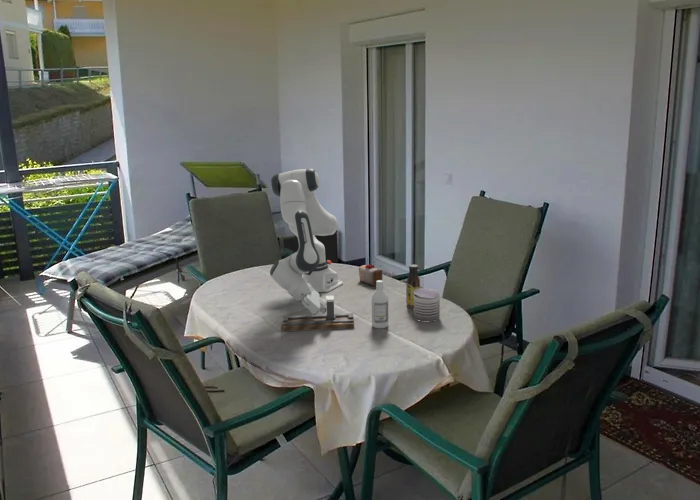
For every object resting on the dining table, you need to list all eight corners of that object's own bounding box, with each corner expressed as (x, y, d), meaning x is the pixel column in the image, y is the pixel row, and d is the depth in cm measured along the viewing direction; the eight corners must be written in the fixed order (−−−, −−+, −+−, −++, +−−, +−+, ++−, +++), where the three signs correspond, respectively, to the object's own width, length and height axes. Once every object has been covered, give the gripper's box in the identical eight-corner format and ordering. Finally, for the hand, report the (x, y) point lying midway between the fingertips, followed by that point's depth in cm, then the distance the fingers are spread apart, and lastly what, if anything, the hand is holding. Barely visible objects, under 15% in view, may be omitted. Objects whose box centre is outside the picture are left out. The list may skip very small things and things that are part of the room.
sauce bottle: (405, 304, 297) (405, 263, 292) (418, 303, 298) (418, 262, 293) (407, 309, 291) (407, 267, 286) (421, 308, 292) (421, 266, 286)
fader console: (283, 331, 269) (282, 323, 268) (284, 321, 281) (283, 313, 280) (354, 328, 271) (354, 320, 270) (352, 317, 282) (352, 310, 281)
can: (424, 311, 288) (424, 286, 285) (444, 317, 280) (445, 291, 277) (408, 318, 280) (408, 292, 277) (428, 324, 273) (428, 297, 270)
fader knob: (326, 321, 273) (325, 299, 270) (325, 317, 278) (325, 295, 275) (335, 320, 273) (334, 299, 270) (335, 316, 278) (334, 295, 275)
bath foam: (391, 327, 271) (390, 282, 266) (376, 330, 268) (376, 284, 263) (383, 321, 277) (382, 277, 272) (369, 324, 274) (368, 280, 269)
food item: (356, 281, 334) (356, 263, 332) (368, 278, 339) (368, 260, 336) (373, 287, 324) (372, 268, 321) (385, 284, 328) (385, 265, 326)
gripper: (306, 293, 261) (331, 314, 264) (306, 278, 281) (329, 298, 284) (296, 304, 262) (320, 325, 265) (296, 288, 281) (319, 308, 285)
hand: (325, 311), depth 274 cm, fingers closed, pressing on fader knob
